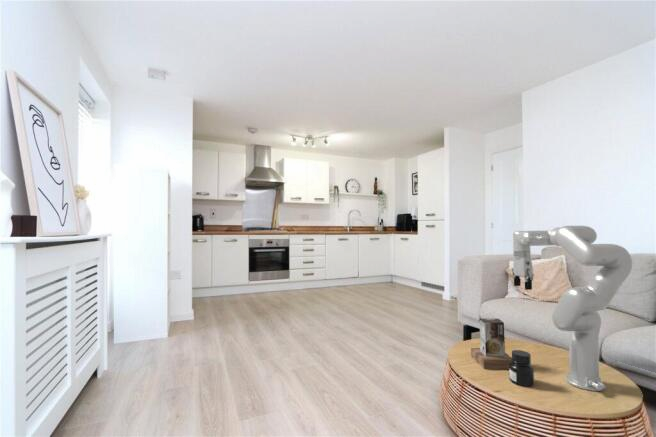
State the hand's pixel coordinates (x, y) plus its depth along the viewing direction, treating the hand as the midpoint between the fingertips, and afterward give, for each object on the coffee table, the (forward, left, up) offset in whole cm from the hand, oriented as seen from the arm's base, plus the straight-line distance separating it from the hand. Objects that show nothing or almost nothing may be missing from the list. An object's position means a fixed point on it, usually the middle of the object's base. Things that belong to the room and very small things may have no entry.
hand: (522, 287), depth 163 cm
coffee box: (-12, +22, -30) cm, 39 cm away
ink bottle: (-31, +19, -34) cm, 49 cm away
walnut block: (-12, +22, -33) cm, 42 cm away
